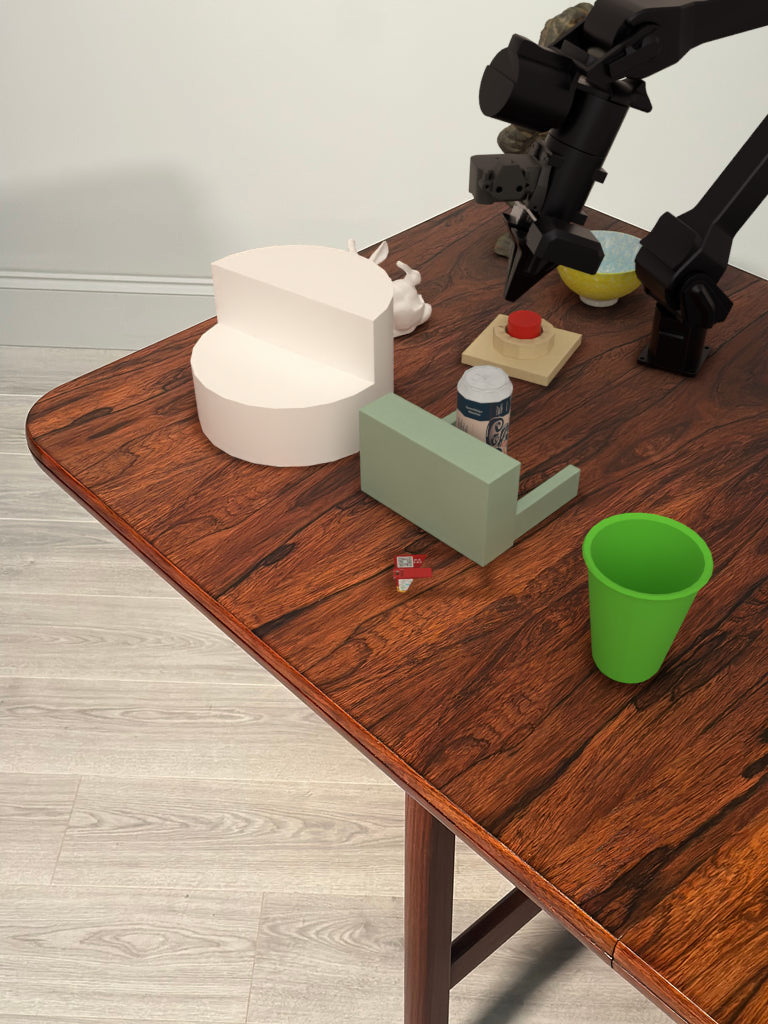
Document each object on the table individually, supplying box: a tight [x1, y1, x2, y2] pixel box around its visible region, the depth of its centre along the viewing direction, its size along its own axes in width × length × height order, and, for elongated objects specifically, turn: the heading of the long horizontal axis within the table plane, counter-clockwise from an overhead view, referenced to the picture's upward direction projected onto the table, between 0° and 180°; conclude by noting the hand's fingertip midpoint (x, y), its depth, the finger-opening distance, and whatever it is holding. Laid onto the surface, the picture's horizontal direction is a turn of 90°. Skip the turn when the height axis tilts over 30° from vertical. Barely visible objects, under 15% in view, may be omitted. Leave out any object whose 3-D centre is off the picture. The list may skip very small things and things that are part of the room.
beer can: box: [456, 365, 514, 455], centre depth 93 cm, size 5×5×12 cm
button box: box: [461, 313, 583, 387], centre depth 114 cm, size 10×10×3 cm
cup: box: [581, 512, 714, 684], centre depth 77 cm, size 9×9×11 cm
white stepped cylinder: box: [190, 244, 395, 468], centre depth 103 cm, size 20×20×13 cm
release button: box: [507, 309, 543, 339], centre depth 113 cm, size 4×4×2 cm
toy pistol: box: [392, 554, 434, 593], centre depth 88 cm, size 8×1×5 cm
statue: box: [493, 1, 594, 259], centre depth 125 cm, size 11×9×30 cm
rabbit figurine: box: [346, 238, 433, 339], centre depth 117 cm, size 12×8×10 cm, turn 103°
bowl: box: [556, 230, 643, 308], centre depth 123 cm, size 11×12×6 cm
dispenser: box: [359, 392, 582, 568], centre depth 93 cm, size 14×15×9 cm
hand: (508, 299), depth 102 cm, fingers closed
